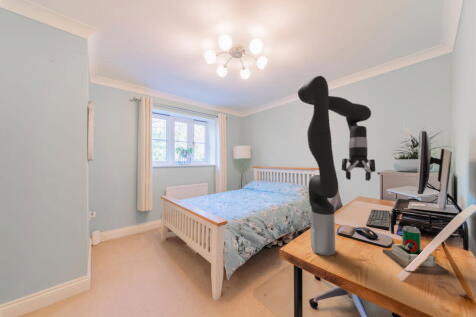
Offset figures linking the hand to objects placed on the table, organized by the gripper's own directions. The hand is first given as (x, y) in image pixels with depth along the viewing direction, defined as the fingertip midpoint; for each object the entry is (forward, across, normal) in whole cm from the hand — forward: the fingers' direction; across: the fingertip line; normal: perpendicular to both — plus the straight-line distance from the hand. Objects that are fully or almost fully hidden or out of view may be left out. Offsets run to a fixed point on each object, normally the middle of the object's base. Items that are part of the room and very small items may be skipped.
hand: (358, 180), depth 86 cm
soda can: (+30, +12, -14) cm, 35 cm away
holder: (+30, +12, -14) cm, 36 cm away
